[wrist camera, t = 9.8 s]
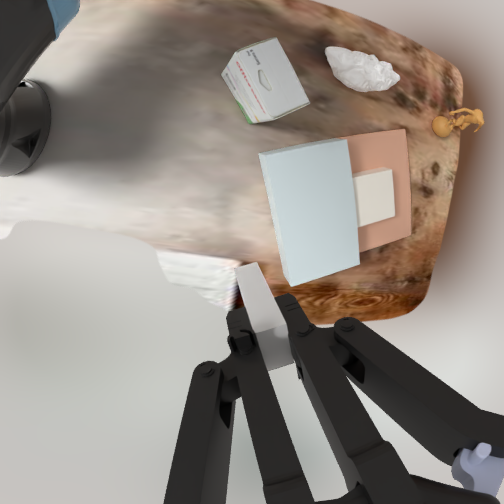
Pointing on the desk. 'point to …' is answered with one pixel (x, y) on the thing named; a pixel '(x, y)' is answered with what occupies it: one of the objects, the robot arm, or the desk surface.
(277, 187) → the plate
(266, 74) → the ink box
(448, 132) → the figurine
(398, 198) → the mat
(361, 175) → the coaster
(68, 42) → the desk surface
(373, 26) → the desk surface
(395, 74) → the white tied bag
